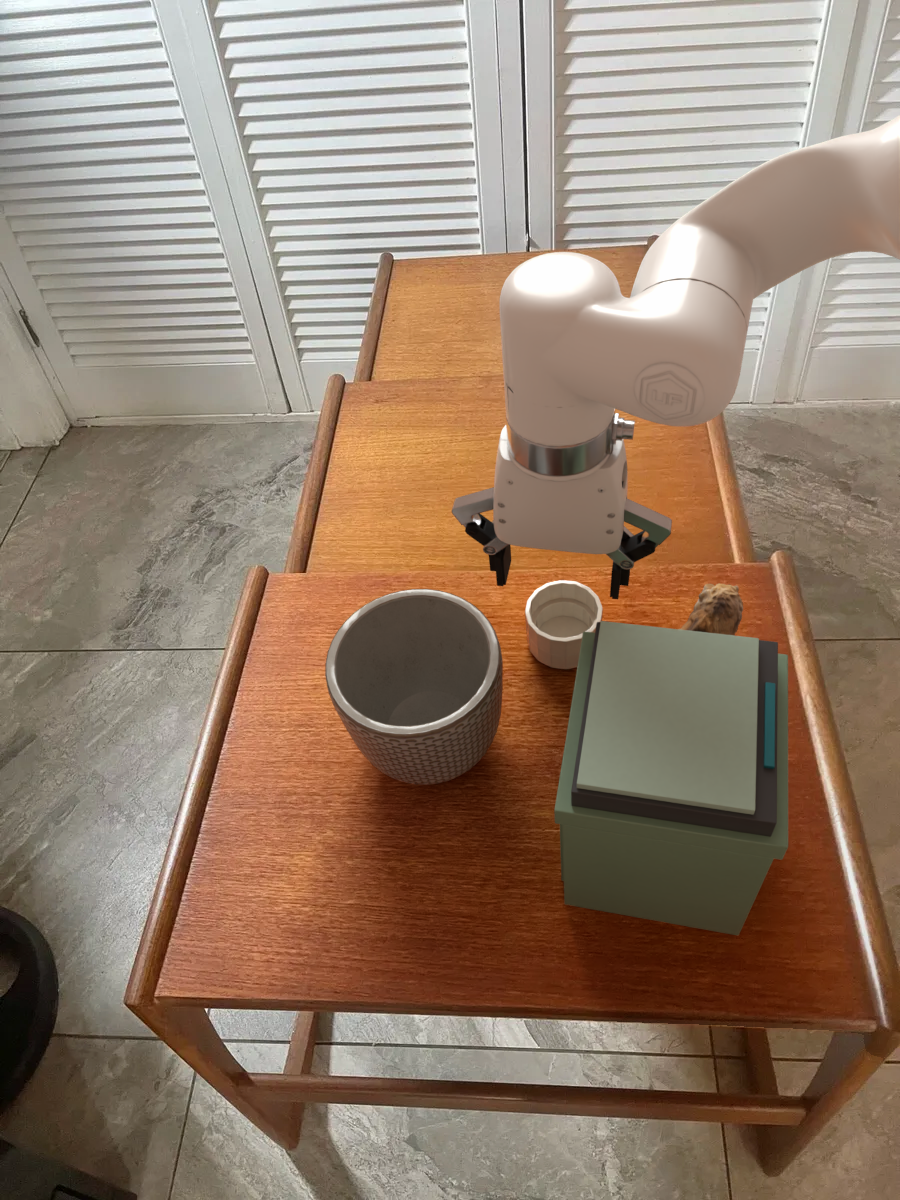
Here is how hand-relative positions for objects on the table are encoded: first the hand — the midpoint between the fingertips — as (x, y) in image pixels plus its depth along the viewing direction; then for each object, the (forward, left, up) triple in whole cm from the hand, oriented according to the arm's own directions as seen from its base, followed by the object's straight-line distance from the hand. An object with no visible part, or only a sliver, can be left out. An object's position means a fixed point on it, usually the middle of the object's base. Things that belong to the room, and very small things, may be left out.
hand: (559, 579), depth 78 cm
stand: (-10, +18, -9) cm, 22 cm away
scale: (-10, +18, +8) cm, 22 cm away
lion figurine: (-10, +2, -9) cm, 14 cm away
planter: (+10, +12, -9) cm, 18 cm away
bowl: (0, 0, -9) cm, 9 cm away
